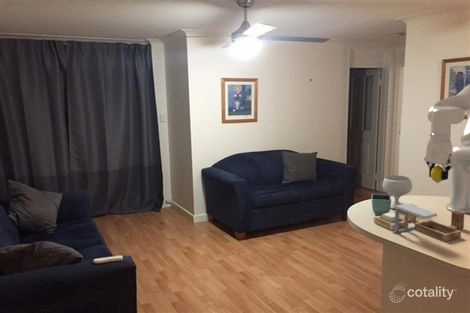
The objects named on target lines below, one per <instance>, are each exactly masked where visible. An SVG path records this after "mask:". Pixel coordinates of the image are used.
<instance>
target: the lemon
mask: <svg viewBox="0 0 470 313" xmlns="http://www.w3.org/2000/svg"><path fill="white" fill-rule="evenodd" d="M442 171H443V168H442V166H441V165H440V164H436V165H435V167H434V168H433V169H432V171H431V177H430V178H431V180H432V181H433V182H435V183H436V184H439V183H440V182H442V181H443V180H442V179H441V177H442Z"/></svg>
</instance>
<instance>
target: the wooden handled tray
mask: <svg viewBox="0 0 470 313" xmlns="http://www.w3.org/2000/svg"><path fill="white" fill-rule="evenodd" d="M450 222H451V224H450V225H449V226H448V225H445V224H442V223H440V222H437V221H435V220H432V219H428V220H423V221H419V222H415V223H414V226H415V228H414V229H413V230H415V231H417V232H421V233H423V234H425V235H427V236H431V237H433V238H435V239H438V240H440V241H443V242H448V241H452V240H456V239H460V238H461V236H462V231H461V230H463V229H464V228H465V227H464V226H465V213H463V212H459V211H451V221H450ZM429 227H431V228H429ZM432 228H433V229H432ZM435 229H436V230H435ZM440 231H441V232H440ZM443 232H444V233H443Z"/></svg>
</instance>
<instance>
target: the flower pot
mask: <svg viewBox="0 0 470 313" xmlns="http://www.w3.org/2000/svg"><path fill="white" fill-rule="evenodd" d="M391 202H392V195H391V194H379V193H378V194H376V193H375V194H374V193H372V194H371V206H372V208H371V209H372V211H373V214H374V215H375V217H377V216H381V215H383V214H385V213H388V212H390V211H391V208H390V207H391Z"/></svg>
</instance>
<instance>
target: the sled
mask: <svg viewBox="0 0 470 313" xmlns="http://www.w3.org/2000/svg"><path fill="white" fill-rule="evenodd" d="M409 204H410V205H413V206H416V207H418V206H417V205H415V204H412V203H409ZM416 221H417V216H415V215H413V214H410V213H409V215H408V223H409V222H411V223H412V222H416ZM373 223H375V224H376V225H379V226H382V227H384V228H385V229H388V230H390V231H395V223H393V224H392V223H390V222H387V221H385V220H382V215H381V216H374V217H373ZM400 229H404V217H402V218H401V217H399V230H400Z"/></svg>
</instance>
